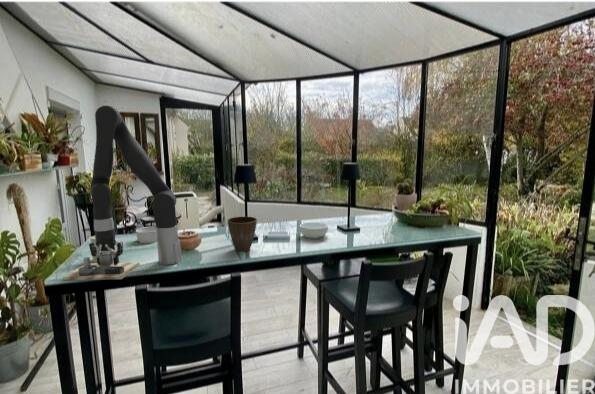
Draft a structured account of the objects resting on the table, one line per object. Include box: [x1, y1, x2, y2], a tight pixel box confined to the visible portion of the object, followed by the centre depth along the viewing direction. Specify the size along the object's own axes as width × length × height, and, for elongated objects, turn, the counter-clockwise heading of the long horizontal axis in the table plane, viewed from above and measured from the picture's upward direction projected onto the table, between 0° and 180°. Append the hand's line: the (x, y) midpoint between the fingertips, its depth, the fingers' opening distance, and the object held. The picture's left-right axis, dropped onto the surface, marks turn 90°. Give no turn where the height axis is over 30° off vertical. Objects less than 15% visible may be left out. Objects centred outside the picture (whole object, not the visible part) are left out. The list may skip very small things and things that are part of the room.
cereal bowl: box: [299, 221, 329, 240], centre depth 192 cm, size 17×17×7 cm
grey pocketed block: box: [99, 252, 115, 267], centre depth 145 cm, size 5×5×6 cm
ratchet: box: [77, 256, 124, 276], centre depth 137 cm, size 18×6×7 cm, turn 90°
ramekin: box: [135, 225, 157, 244], centre depth 187 cm, size 13×13×7 cm
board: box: [62, 262, 141, 281], centre depth 141 cm, size 24×16×1 cm, turn 90°
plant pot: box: [227, 216, 258, 253], centre depth 169 cm, size 15×15×16 cm
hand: (108, 264), depth 145 cm, fingers open, 6 cm apart
